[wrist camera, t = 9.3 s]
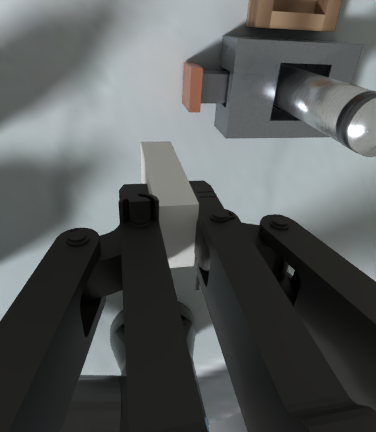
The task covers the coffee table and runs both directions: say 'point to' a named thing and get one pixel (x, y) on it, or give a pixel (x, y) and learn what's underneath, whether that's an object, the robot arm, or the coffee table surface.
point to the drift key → (203, 86)
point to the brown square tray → (294, 14)
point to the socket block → (274, 82)
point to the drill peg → (330, 107)
